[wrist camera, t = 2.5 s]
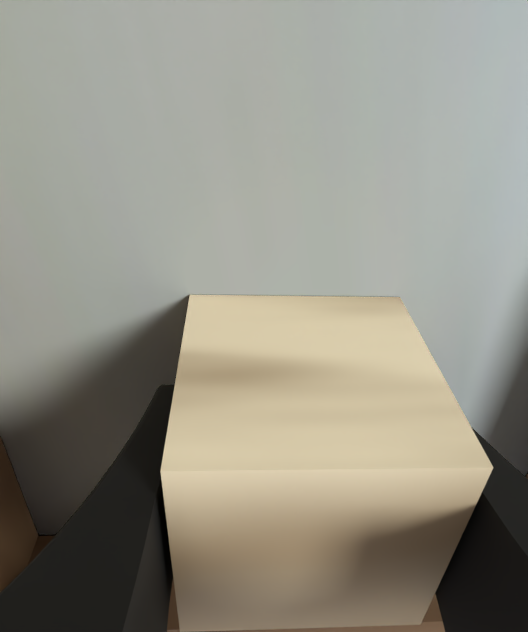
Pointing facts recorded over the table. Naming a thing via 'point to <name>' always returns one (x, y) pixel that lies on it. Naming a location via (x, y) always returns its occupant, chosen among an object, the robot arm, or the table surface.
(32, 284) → the table surface
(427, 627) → the open walnut frame
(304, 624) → the maple block
